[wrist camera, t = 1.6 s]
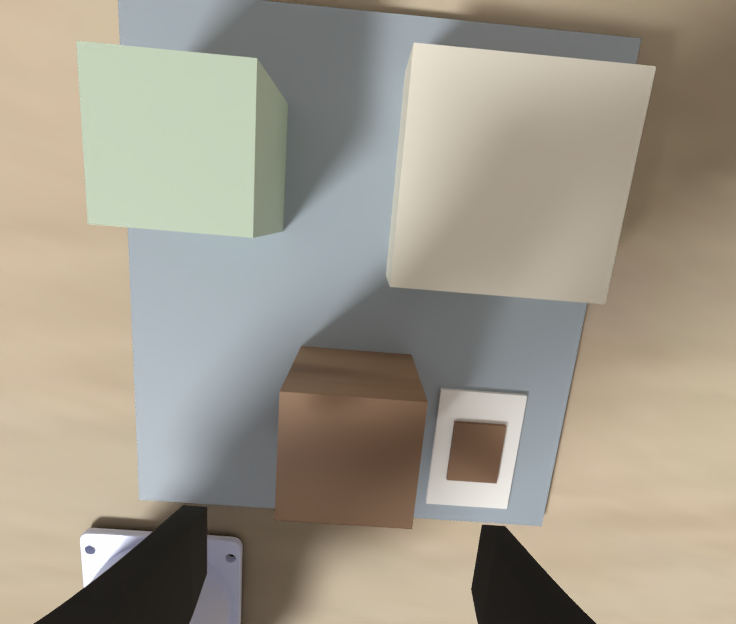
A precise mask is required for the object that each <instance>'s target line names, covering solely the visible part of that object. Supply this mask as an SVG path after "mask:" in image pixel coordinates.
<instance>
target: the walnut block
mask: <svg viewBox="0 0 736 624" xmlns="http://www.w3.org/2000/svg"><path fill="white" fill-rule="evenodd" d="M427 406H428V401H427V398H426V395H425V392H424V389H423V387H422V384H421V381H420V378H419V375H418V372H417V369H416V366H415V363H414V360H413V357H412V355H411V354H398V353H385V352H372V351H359V350H346V349H333V348H320V347H307V346H301V347H300V349H299V352H298V354H297V356H296V358H295V360H294V362H293V364H292V366H291V368H290V371H289V373H288V375H287V377H286V379H285V381H284V383H283V385H282V387H281V390H280V394H279V419H278V444H277V469H276V494H275V519H274V520H280V521H295V522H311V523H326V524H341V525H357V526H372V527H388V528H403V529H412V526H413V518H414V510H415V502H416V494H417V486H418V478H419V470H420V462H421V454H422V446H423V438H424V430H425V422H426V414H427Z"/></svg>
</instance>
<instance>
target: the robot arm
mask: <svg viewBox="0 0 736 624" xmlns="http://www.w3.org/2000/svg"><path fill="white" fill-rule="evenodd" d="M91 546H93V547H94V548H93V547H91ZM80 547H81V559H82V572H83V584H84V588H83V589H82V590H80V591H79V592H78V593H77V594H75V595H74V596H73V597H71V598H70V599H69V600H67V601H66V602H65V603H63V604H62V605H60V606H59V607H57V608H56V609H55V610H53V611H52V612H50V613H49V614H48V615H46V616H45V617H43V618H42V619H40V620H39V621H37V622H36V623H34V624H241V597H242V548H243V545H242V542H241V541H240V539H238V538H236V537H230V536H215V535H207V507H200V506H185V505H183V506H182V507H181V508H180V509H178V510H177V511H176V512H175V513H174V514H172V515H171V516H170V517H169V518H168V519H167V520H166V521H164V522H163V523H162V524H161V525H160V526H159V527H157V528H156V529H155V530H154V531H153V532H152V531H136V530H120V529H105V528H89V529H87V530H86V531H85V532H84V533H83V534H82V535H81V537H80ZM228 554H232V555H234V556H235V557H231V556H230V555H228ZM471 590H472V595H473V601H474V606H475V612H476V617H477V622H478V624H596V623H595V622H594V621H593V620H592V619H591V618H590V617H589V616H588V615H587V614H586V613H585V612H584V611H583V610H582V609H581V608H580V607H579V606H578V605H577V604H576V603H575V602H574V601H573V600H572V599H571V598H570V597H569V596H568V595H567V594H566V593H565V592H564V591H563V590H562V589H561V588H560V586H559V585H558V584H557V583H556V582H555V581H554V580H553V579H552V578H551V577H550V576H549V575H548V574H547V572H546V571H545V570H544V569H543V568H542V567H541V566H540V565H539V564H538V563H537V561H536V560H535V559H534V558H533V557H532V556H531V555H530V554H529V552H528V551H527V550H526V549H525V548H524V547H523V546H522V545H521V543H520V542H519V541H518V540H517V539H516V538H515V537H514V536H513V534H512V533H511V532H510V531H509V530H508V529H507V528H506V527H505V526H494V525H482V528H481V534H480V540H479V546H478V552H477V558H476V564H475V570H474V576H473V582H472V588H471Z"/></svg>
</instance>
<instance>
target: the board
mask: <svg viewBox="0 0 736 624" xmlns="http://www.w3.org/2000/svg"><path fill="white" fill-rule="evenodd" d="M118 11H119V34H120V45H126V46H136V47H146V48H157V49H167V50H178V51H188V52H198V53H209V54H219V55H230V56H240V57H250V58H257V59H258V60H259V62H260V63H261V65H262V66H263V68H264V69H265V70H266V72H267V73H268V75H269V76H270V78H271V79H272V81H273V82H274V84H275V85H276V87H277V88H278V90H279V91H280V92H281V94H282V95H283V97H284V98H285V100H286V101H287V103H288V118H287V144H286V170H285V196H284V222H283V232H278V233H274V234H269V235H264V236H260V237H255V238H248V237H236V236H224V235H212V234H200V233H188V232H177V231H165V230H153V229H141V228H129V227H128V245H129V269H130V292H131V315H132V339H133V362H134V386H135V409H136V433H137V456H138V480H139V500H151V501H166V502H181V503H196V504H212V505H227V506H242V507H257V508H272V509H275V494H276V469H277V444H278V419H279V394H280V390H281V387H282V385H283V383H284V381H285V379H286V377H287V375H288V373H289V371H290V368H291V366H292V364H293V362H294V360H295V358H296V356H297V354H298V352H299V349H300V347H301V346H307V347H320V348H333V349H346V350H359V351H372V352H385V353H398V354H411V355H412V357H413V360H414V363H415V366H416V369H417V372H418V375H419V378H420V381H421V384H422V387H423V389H424V392H425V395H426V398H427V401H428V406H427V414H426V422H425V430H424V438H423V446H422V454H421V462H420V470H419V478H418V486H417V494H416V502H415V510H414V518H424V519H439V520H455V521H470V522H485V523H500V524H515V525H531V526H542V522H543V517H544V512H545V508H546V503H547V498H548V493H549V488H550V483H551V478H552V473H553V468H554V464H555V459H556V454H557V449H558V444H559V439H560V434H561V429H562V424H563V420H564V415H565V410H566V405H567V400H568V395H569V390H570V385H571V380H572V376H573V371H574V366H575V361H576V356H577V351H578V346H579V341H580V336H581V332H582V327H583V322H584V317H585V312H586V307H587V303H582V302H569V301H557V300H545V299H532V298H520V297H508V296H496V295H483V294H471V293H459V292H446V291H434V290H422V289H410V288H397V287H390V285H389V283H388V280H387V277H386V268H387V258H388V247H389V236H390V226H391V215H392V204H393V194H394V183H395V172H396V162H397V151H398V141H399V130H400V119H401V109H402V98H403V87H404V77H405V71H406V67H407V64H408V60H409V57H410V53H411V50H412V47H413V43H424V44H435V45H445V46H455V47H465V48H475V49H485V50H496V51H506V52H516V53H526V54H536V55H547V56H557V57H567V58H577V59H587V60H598V61H608V62H618V63H628V64H636V63H637V58H638V53H639V48H640V43H641V38H634V37H624V36H614V35H604V34H594V33H584V32H574V31H564V30H554V29H544V28H534V27H524V26H514V25H504V24H494V23H484V22H474V21H464V20H454V19H444V18H434V17H424V16H414V15H404V14H394V13H384V12H374V11H364V10H354V9H344V8H334V7H324V6H314V5H304V4H294V3H284V2H274V1H264V0H118Z"/></svg>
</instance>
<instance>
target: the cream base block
mask: <svg viewBox="0 0 736 624" xmlns="http://www.w3.org/2000/svg"><path fill="white" fill-rule="evenodd" d="M655 70H656V66H648V65H638V64H628V63H618V62H608V61H598V60H587V59H577V58H567V57H557V56H547V55H536V54H526V53H516V52H506V51H496V50H485V49H475V48H465V47H455V46H445V45H435V44H424V43H413V47H412V50H411V53H410V57H409V60H408V64H407V67H406V71H405V77H404V87H403V98H402V109H401V119H400V130H399V141H398V151H397V162H396V172H395V183H394V194H393V204H392V215H391V226H390V236H389V247H388V258H387V268H386V277H387V280H388V283H389V285H390V287H397V288H410V289H422V290H434V291H446V292H459V293H471V294H483V295H496V296H508V297H520V298H532V299H545V300H557V301H569V302H582V303H594V304H605V303H606V299H607V294H608V289H609V285H610V280H611V275H612V271H613V266H614V261H615V257H616V252H617V247H618V243H619V238H620V233H621V229H622V224H623V219H624V215H625V210H626V205H627V201H628V196H629V191H630V187H631V182H632V177H633V173H634V168H635V163H636V159H637V154H638V149H639V145H640V140H641V135H642V131H643V126H644V121H645V117H646V112H647V107H648V103H649V98H650V93H651V89H652V84H653V79H654V75H655Z"/></svg>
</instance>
